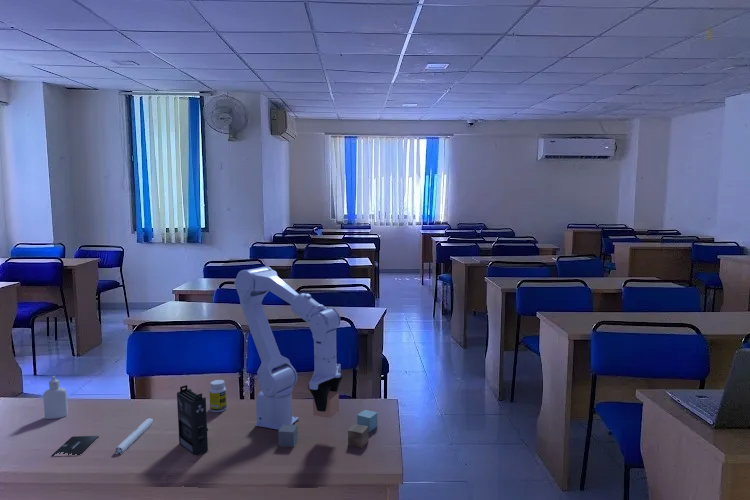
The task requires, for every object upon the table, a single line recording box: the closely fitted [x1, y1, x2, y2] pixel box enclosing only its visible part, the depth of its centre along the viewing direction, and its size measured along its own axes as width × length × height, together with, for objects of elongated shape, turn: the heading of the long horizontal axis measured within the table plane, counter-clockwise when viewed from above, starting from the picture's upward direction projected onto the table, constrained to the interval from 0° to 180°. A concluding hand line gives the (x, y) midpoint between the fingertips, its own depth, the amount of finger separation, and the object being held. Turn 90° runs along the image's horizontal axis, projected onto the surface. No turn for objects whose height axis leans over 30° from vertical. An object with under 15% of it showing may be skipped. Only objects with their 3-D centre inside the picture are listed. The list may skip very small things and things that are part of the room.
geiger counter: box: [176, 384, 209, 457], centre depth 130 cm, size 10×4×15 cm, turn 45°
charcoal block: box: [277, 424, 299, 448], centre depth 133 cm, size 4×4×4 cm
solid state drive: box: [51, 435, 100, 457], centre depth 132 cm, size 7×10×1 cm
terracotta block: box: [312, 391, 340, 419], centre depth 135 cm, size 5×5×5 cm
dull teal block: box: [356, 409, 378, 433], centre depth 141 cm, size 4×4×4 cm
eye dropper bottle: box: [42, 375, 69, 420], centre depth 149 cm, size 4×6×12 cm
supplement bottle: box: [209, 379, 227, 413], centre depth 153 cm, size 5×5×8 cm
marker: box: [114, 417, 154, 455], centre depth 136 cm, size 18×2×2 cm, turn 179°
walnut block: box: [347, 423, 369, 449], centre depth 132 cm, size 4×4×4 cm
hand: (326, 406), depth 135 cm, fingers closed on terracotta block, 5 cm apart
